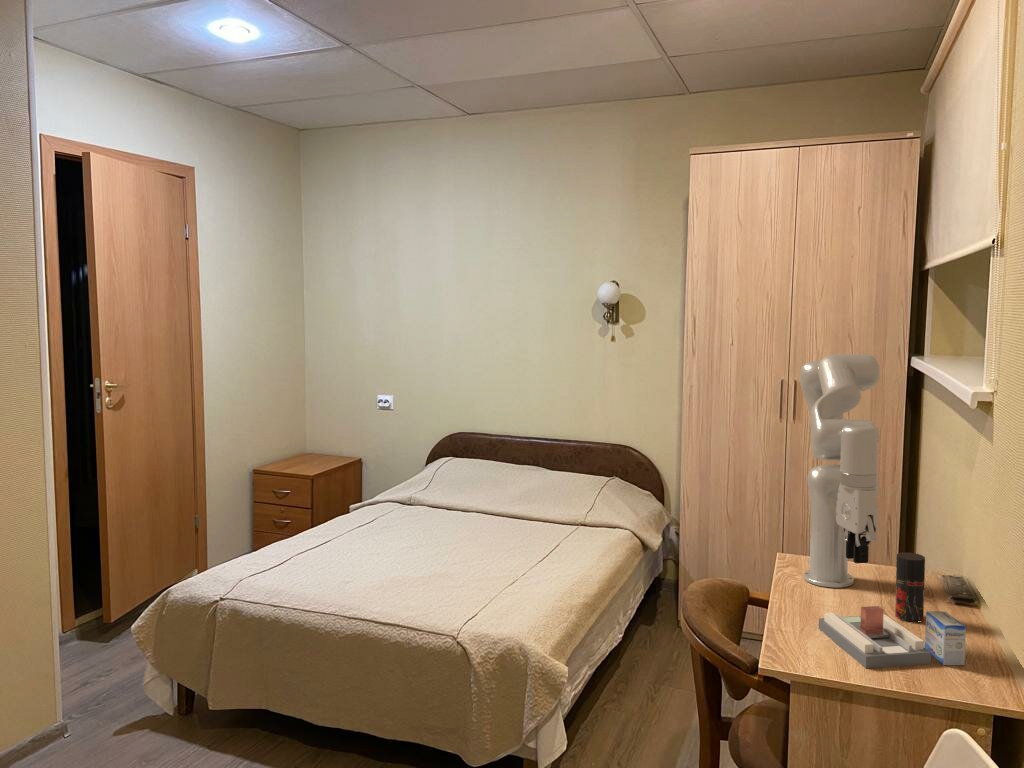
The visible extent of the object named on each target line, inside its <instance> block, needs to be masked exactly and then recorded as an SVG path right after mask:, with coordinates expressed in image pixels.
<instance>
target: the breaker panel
mask: <svg viewBox="0 0 1024 768" xmlns="http://www.w3.org/2000/svg"><path fill="white" fill-rule="evenodd" d="M855 626H861V615H855V616H854V615H853V616H841V615H840V614H839V613H833V612H825V613H824V617H820V618H819V617H818V630H819V629H820V630H819V631H821V632H822V631H823V632H824V633H825V634H826V635H825V634H824V633H823V632H822V633H823V634H824V635H825V636H827V637H828V638H829V639H830V638H831V639H832V642H834V643H835V644H836V645H837V646H839V648H840V649H842V650H843V651H844V652H846V653H847V654H848V655H850V656H851V657H852V658H853V659H854V660H855V661H857V663H859V664H860V665H861V666H862V667H864V668H865V669H874V668H889V667H890V668H891V667H906V666H919V665H920V666H921V665H931V661H932V660H931V657H932V655H931V652H930V651H928V650H927V649H925V640H923V639H922V638H920V637H918V636H917V635H916V634H915V633H912V632H911V631H909V629H908V628H907V629H906V628H905V627H904V626H902V625H901V624H899V623H898V622H897V621H894V620H893V619H892V618H890V617H889V616H888V615H886V614H884V613H883V630H884V631H885V632H886V633H888V634H889V637H883V638H869V637H868V636H866V635H865V634H864V633H863V632H861V631H860V630H859V629H857V628H856V627H855ZM831 639H830V640H831Z"/></svg>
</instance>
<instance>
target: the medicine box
mask: <svg viewBox="0 0 1024 768" xmlns="http://www.w3.org/2000/svg"><path fill="white" fill-rule="evenodd" d="M966 631H967V627H966V625H965V624H963V623H962V622H960V621H959V620H958V619H956V618H955V617H954V616H952V615H951V614H950V613H948V612H947V611H941V610H938V611H937V610H936V611H935V610H929V611H926V613H925V631H924V633H925V634H924V648H925V649H927V650H928V651H930V652H931V657H933V658H934V659H935V660H937V661H938V662H939V663H940V664H941V665H942V666H944V665H963V666H965V658H966V634H967V633H966Z"/></svg>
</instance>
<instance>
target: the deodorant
mask: <svg viewBox="0 0 1024 768" xmlns="http://www.w3.org/2000/svg"><path fill="white" fill-rule="evenodd" d="M895 568H896V569H895V570H896V574H895V607H894V608H895V609H894V610H895V611H894V612H895V613H894V616H895V618H896V617H897V618H898V619H897V618H896V619H897V620H899V619H900V620H899V621H902V622H905V621H906V622H905V623H910V622H918V621H922V620H923V621H924V617H925V615H924V612H925V610H924V609H925V604H924V603H925V578H926V577H925V574H926V572H925V571H926V557H925V556H924V555H922V554H920V553H914V552H908V551H907V552H898V553H897V554H896V567H895ZM923 621H922V622H923Z"/></svg>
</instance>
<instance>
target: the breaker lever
mask: <svg viewBox="0 0 1024 768" xmlns="http://www.w3.org/2000/svg"><path fill="white" fill-rule="evenodd" d="M883 614H884V609H883V608H882V607H881V606H879V605H875V606H874V605H873V606H861V607H860V616H861V626H855V627H856V628H857V629H859V630H860V631H861V632H863V633H864V634H865V635H866V636H868V637H869V638H883V637H889V634H888V633H886V632H885V631H884V630H883Z"/></svg>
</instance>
